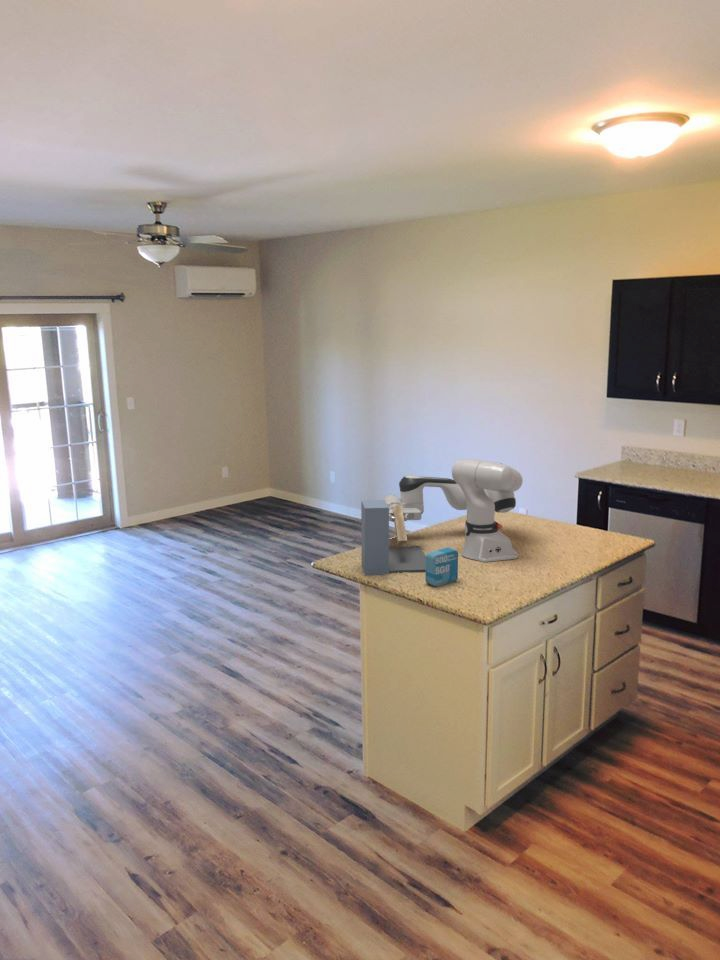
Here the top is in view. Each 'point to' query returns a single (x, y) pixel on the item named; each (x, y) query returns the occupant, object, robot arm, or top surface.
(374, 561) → the slate block
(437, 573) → the data package
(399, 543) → the maple rod
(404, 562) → the rubber mat
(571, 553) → the top surface
